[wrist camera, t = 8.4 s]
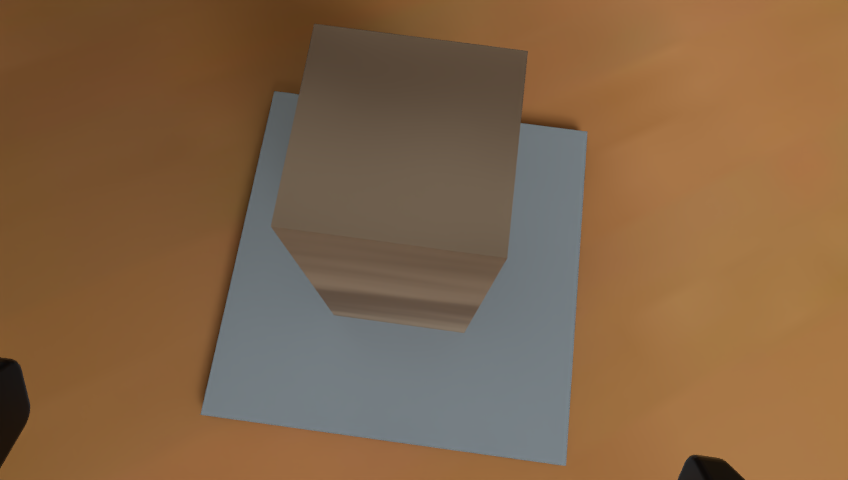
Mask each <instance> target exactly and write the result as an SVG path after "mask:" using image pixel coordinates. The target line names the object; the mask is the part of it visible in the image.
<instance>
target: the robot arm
mask: <svg viewBox="0 0 848 480" xmlns="http://www.w3.org/2000/svg"><path fill="white" fill-rule="evenodd" d="M29 413H30V402H29V398H28V394H27V390H26V386H25V382H24V378H23V374H22V370H21V367H20V365H19V364H18V363H17V361H15V360H13V359H8V358H1V357H0V468H1V466H2V464H3V463H4V461H5V459H6V457H7V456H8V454H9V452H10V451H11V449H12V447H13V445H14V444H15V442H16V440H17V439H18V437H19V435H20V433H21V432H22V430H23V428H24V427H25V425H26V423H27V420H28V417H29ZM678 480H745V479H744V478H743V477H742V476H741V475H740V474H739V473H738V472H737V471H735V470H734V469H733V468H732V467H731V466H730V465H729V464H728V463H727V462H726V461H724V460H723V459H720V458H715V457H708V456H701V455H692V456H690V457H689V458H688V459H687V460H686V462H685V464H684V466H683V468H682V471H681V473H680V475H679V478H678Z"/></svg>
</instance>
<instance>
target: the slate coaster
mask: <svg viewBox="0 0 848 480" xmlns="http://www.w3.org/2000/svg"><path fill="white" fill-rule="evenodd" d="M298 97H299V94H292V93H285V92H277V91H274V95H273V99H272V104H271V108H270V112H269V117H268V121H267V126H266V130H265V134H264V139H263V143H262V148H261V152H260V156H259V161H258V165H257V169H256V174H255V178H254V183H253V187H252V191H251V196H250V200H249V205H248V209H247V213H246V218H245V222H244V227H243V231H242V235H241V240H240V244H239V248H238V253H237V257H236V262H235V266H234V270H233V275H232V279H231V284H230V288H229V292H228V297H227V301H226V306H225V310H224V314H223V319H222V323H221V327H220V332H219V336H218V341H217V345H216V349H215V354H214V358H213V363H212V367H211V371H210V376H209V380H208V384H207V389H206V393H205V398H204V402H203V406H202V411H201V415H207V416H214V417H221V418H228V419H235V420H243V421H250V422H257V423H264V424H271V425H278V426H285V427H292V428H300V429H307V430H314V431H321V432H328V433H335V434H342V435H350V436H357V437H364V438H371V439H378V440H385V441H392V442H400V443H407V444H414V445H421V446H428V447H435V448H442V449H449V450H457V451H464V452H471V453H478V454H485V455H492V456H499V457H507V458H514V459H521V460H528V461H535V462H542V463H549V464H556V465H564V466H566V456H567V440H568V425H569V409H570V394H571V378H572V363H573V347H574V331H575V316H576V300H577V285H578V269H579V254H580V238H581V222H582V207H583V191H584V176H585V160H586V145H587V132H586V131H578V130H570V129H562V128H555V127H547V126H539V125H532V124H524V123H521V125H520V135H519V145H518V155H517V165H516V175H515V185H514V195H513V205H512V216H511V226H510V236H509V246H508V256H507V259H506V261H505V263H504V265H503V266H502V268H501V270H500V272H499V273H498V275H497V277H496V279H495V280H494V282H493V284H492V285H491V287H490V289H489V291H488V292H487V294H486V296H485V298H484V299H483V301H482V303H481V305H480V306H479V308H478V310H477V311H476V313H475V315H474V317H473V318H472V320H471V322H470V324H469V325H468V327H467V329H466V331H465V332H464V333H460V332H453V331H446V330H438V329H431V328H424V327H416V326H409V325H402V324H394V323H387V322H380V321H372V320H365V319H358V318H351V317H343V316H336V315H333V313H332V312H331V310H330V309H329V307H328V306H327V305H326V303H325V302H324V300H323V299H322V298H321V296H320V295H319V293H318V292H317V291H316V289H315V288H314V286H313V285H312V284H311V282H310V281H309V279H308V278H307V277H306V275H305V274H304V272H303V271H302V270H301V268H300V267H299V265H298V264H297V263H296V261H295V260H294V258H293V257H292V256H291V254H290V253H289V251H288V250H287V249H286V247H285V246H284V244H283V243H282V242H281V240H280V239H279V237H278V236H277V234H276V233H275V232H274V230H273V229H272V227H271V223H272V218H273V213H274V209H275V204H276V199H277V195H278V190H279V186H280V181H281V176H282V172H283V167H284V162H285V158H286V153H287V148H288V144H289V139H290V134H291V130H292V125H293V120H294V116H295V111H296V107H297V102H298Z"/></svg>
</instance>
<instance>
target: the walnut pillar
mask: <svg viewBox="0 0 848 480" xmlns="http://www.w3.org/2000/svg"><path fill="white" fill-rule="evenodd" d="M527 54H528V51H523V50H516V49H508V48H500V47H492V46H484V45H476V44H469V43H461V42H453V41H445V40H437V39H429V38H422V37H414V36H406V35H398V34H390V33H382V32H374V31H367V30H359V29H351V28H343V27H335V26H327V25H320V24H314V27H313V32H312V37H311V41H310V46H309V51H308V55H307V60H306V65H305V69H304V74H303V79H302V83H301V88H300V93H299V97H298V102H297V107H296V111H295V116H294V120H293V125H292V130H291V134H290V139H289V144H288V148H287V153H286V158H285V162H284V167H283V172H282V176H281V181H280V186H279V190H278V195H277V199H276V204H275V209H274V213H273V218H272V223H271V227H272V229H273V230H274V232H275V233H276V234H277V236H278V237H279V239H280V240H281V242H282V243H283V244H284V246H285V247H286V249H287V250H288V251H289V253H290V254H291V256H292V257H293V258H294V260H295V261H296V263H297V264H298V265H299V267H300V268H301V270H302V271H303V272H304V274H305V275H306V277H307V278H308V279H309V281H310V282H311V284H312V285H313V286H314V288H315V289H316V291H317V292H318V293H319V295H320V296H321V298H322V299H323V300H324V302H325V303H326V305H327V306H328V307H329V309H330V310H331V312H332V313H333V315H336V316H343V317H351V318H358V319H365V320H372V321H380V322H387V323H394V324H402V325H409V326H416V327H424V328H431V329H438V330H446V331H453V332H460V333H464V332H465V331H466V329H467V327H468V325H469V324H470V322H471V320H472V318H473V317H474V315H475V313H476V311H477V310H478V308H479V306H480V305H481V303H482V301H483V299H484V298H485V296H486V294H487V292H488V291H489V289H490V287H491V285H492V284H493V282H494V280H495V279H496V277H497V275H498V273H499V272H500V270H501V268H502V266H503V265H504V263H505V261H506V259H507V256H508V246H509V236H510V226H511V216H512V205H513V195H514V185H515V175H516V165H517V155H518V145H519V135H520V125H521V114H522V104H523V94H524V84H525V74H526V64H527Z"/></svg>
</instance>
